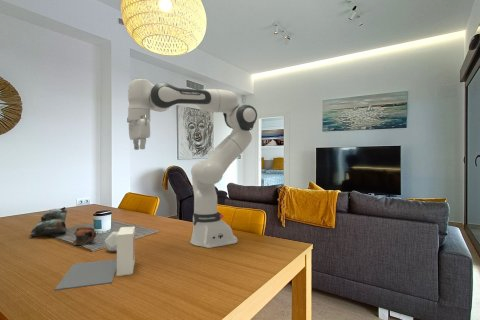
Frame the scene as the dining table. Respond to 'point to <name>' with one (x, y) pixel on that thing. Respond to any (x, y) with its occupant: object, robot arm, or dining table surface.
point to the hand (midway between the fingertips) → (139, 149)
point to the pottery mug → (84, 236)
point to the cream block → (125, 251)
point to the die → (112, 241)
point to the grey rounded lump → (51, 223)
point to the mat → (89, 274)
